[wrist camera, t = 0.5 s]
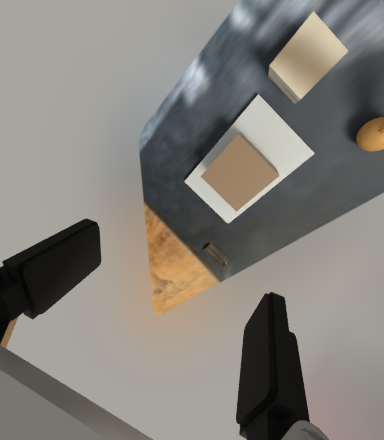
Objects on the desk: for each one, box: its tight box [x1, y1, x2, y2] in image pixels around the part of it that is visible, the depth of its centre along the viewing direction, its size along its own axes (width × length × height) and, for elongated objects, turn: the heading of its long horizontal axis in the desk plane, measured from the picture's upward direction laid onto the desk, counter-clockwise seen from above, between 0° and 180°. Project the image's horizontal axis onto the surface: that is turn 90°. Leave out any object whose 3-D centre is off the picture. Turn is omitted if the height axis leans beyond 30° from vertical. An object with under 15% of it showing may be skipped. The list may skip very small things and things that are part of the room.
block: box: [203, 243, 228, 266], centre depth 42 cm, size 4×6×2 cm, turn 51°
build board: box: [184, 94, 315, 223], centre depth 30 cm, size 18×12×6 cm, turn 139°
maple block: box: [268, 11, 348, 104], centre depth 23 cm, size 5×5×5 cm
